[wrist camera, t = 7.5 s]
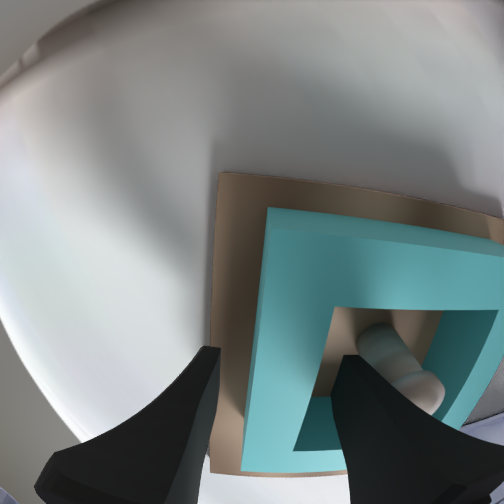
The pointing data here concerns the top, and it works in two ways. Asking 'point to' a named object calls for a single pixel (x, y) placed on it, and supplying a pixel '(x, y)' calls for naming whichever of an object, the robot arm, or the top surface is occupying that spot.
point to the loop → (361, 296)
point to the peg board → (344, 318)
